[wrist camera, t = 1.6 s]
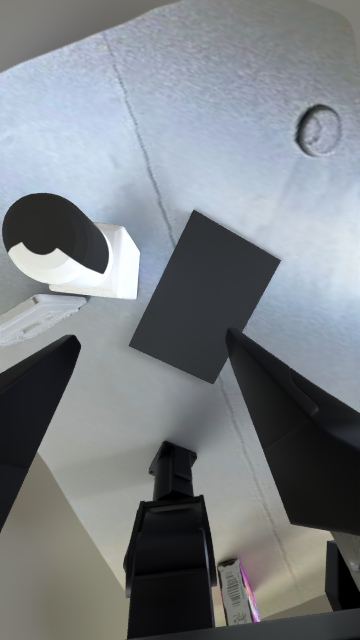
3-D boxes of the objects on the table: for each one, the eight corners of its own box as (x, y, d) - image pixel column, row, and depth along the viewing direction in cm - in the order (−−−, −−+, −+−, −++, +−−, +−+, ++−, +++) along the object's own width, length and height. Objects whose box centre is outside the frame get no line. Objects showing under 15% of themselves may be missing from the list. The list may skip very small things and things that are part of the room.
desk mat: (212, 382, 24) (213, 384, 23) (129, 344, 23) (128, 345, 22) (278, 261, 22) (281, 260, 22) (193, 212, 21) (193, 209, 20)
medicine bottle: (90, 244, 21) (-23, 164, 9) (140, 251, 21) (98, 183, 9) (88, 294, 21) (-17, 284, 10) (137, 299, 22) (94, 296, 10)
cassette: (23, 345, 22) (-57, 367, 14) (15, 334, 22) (-71, 352, 14) (90, 304, 22) (45, 305, 14) (83, 293, 21) (33, 288, 14)
